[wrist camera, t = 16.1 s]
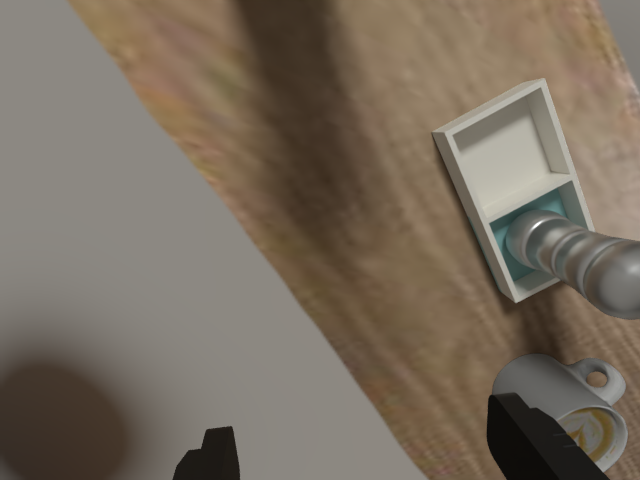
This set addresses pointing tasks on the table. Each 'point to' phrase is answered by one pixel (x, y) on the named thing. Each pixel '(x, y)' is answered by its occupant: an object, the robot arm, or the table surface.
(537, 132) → the divided tray
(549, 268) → the grey metal bottle
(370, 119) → the table surface
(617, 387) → the coffee mug
